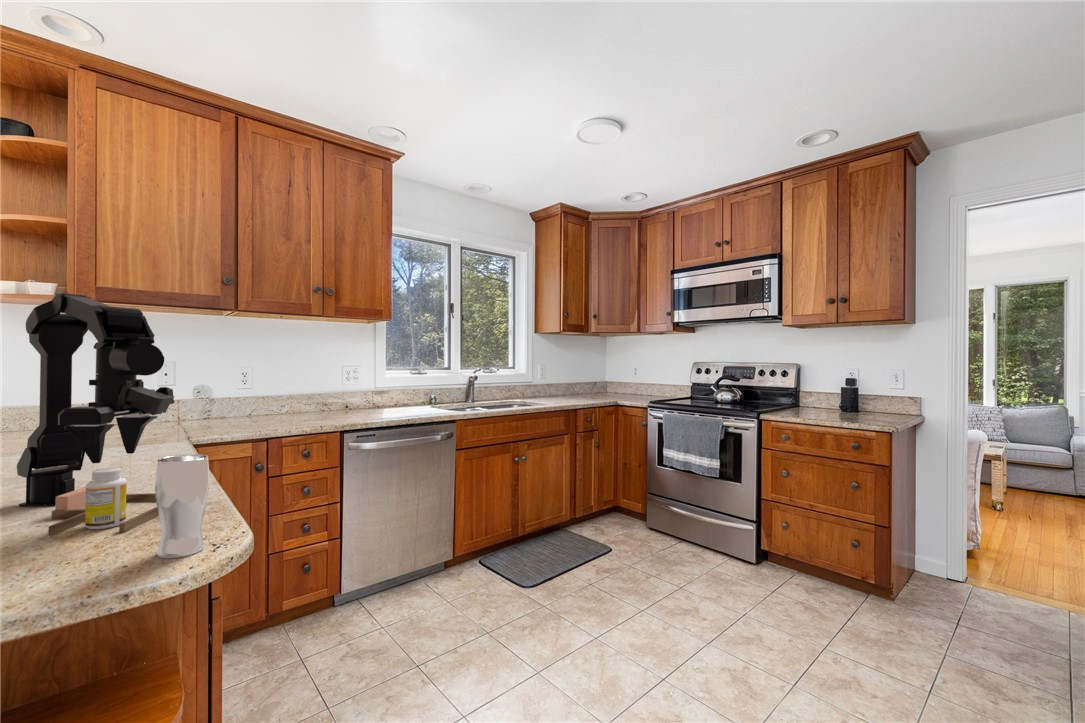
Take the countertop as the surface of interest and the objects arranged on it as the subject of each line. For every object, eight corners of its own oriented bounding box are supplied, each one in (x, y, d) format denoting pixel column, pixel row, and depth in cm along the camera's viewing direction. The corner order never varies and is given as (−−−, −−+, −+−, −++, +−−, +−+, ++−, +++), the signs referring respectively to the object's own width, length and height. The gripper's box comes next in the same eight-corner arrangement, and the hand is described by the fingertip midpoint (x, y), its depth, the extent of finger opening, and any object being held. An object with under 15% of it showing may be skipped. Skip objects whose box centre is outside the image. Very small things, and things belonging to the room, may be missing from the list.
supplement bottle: (113, 518, 92) (115, 465, 92) (132, 522, 90) (134, 468, 90) (77, 528, 86) (78, 471, 87) (96, 532, 85) (98, 474, 85)
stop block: (55, 517, 92) (55, 496, 92) (94, 502, 101) (95, 483, 101) (67, 517, 92) (67, 496, 92) (105, 502, 102) (105, 483, 102)
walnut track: (6, 536, 82) (6, 527, 82) (97, 501, 102) (97, 494, 102) (124, 532, 85) (124, 524, 85) (190, 499, 105) (190, 492, 105)
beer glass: (164, 563, 72) (167, 464, 72) (145, 553, 76) (148, 458, 76) (215, 549, 78) (218, 457, 78) (195, 540, 82) (198, 452, 82)
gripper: (133, 376, 82) (131, 468, 82) (191, 373, 100) (189, 448, 100) (56, 375, 80) (54, 469, 79) (130, 372, 98) (128, 449, 98)
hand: (114, 458), depth 89 cm, fingers open, 9 cm apart
